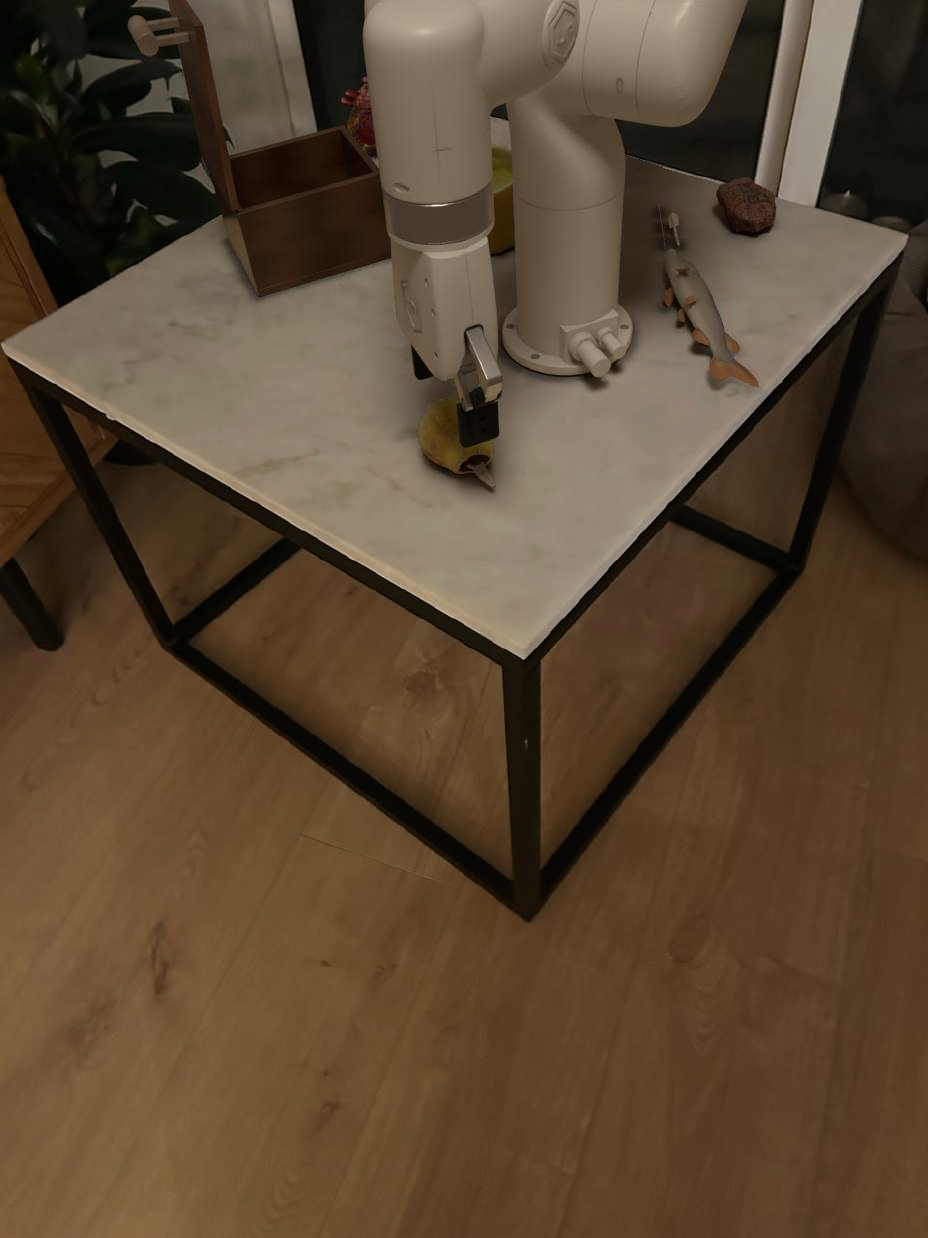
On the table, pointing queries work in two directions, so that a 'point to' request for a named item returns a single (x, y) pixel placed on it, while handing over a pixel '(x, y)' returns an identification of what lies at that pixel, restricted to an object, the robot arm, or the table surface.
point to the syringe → (672, 225)
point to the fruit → (452, 441)
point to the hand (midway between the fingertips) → (455, 406)
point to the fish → (703, 317)
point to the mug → (502, 201)
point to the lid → (193, 85)
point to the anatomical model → (360, 115)
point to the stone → (747, 204)
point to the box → (305, 210)
